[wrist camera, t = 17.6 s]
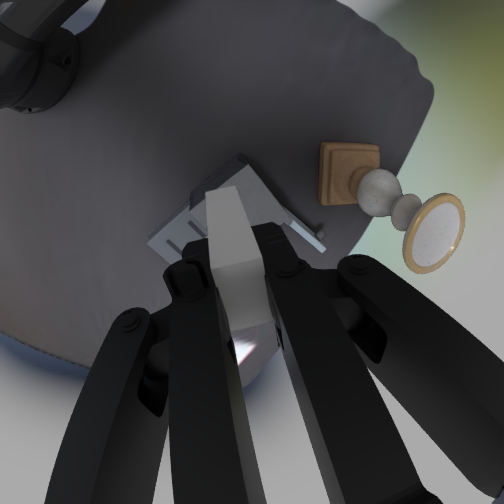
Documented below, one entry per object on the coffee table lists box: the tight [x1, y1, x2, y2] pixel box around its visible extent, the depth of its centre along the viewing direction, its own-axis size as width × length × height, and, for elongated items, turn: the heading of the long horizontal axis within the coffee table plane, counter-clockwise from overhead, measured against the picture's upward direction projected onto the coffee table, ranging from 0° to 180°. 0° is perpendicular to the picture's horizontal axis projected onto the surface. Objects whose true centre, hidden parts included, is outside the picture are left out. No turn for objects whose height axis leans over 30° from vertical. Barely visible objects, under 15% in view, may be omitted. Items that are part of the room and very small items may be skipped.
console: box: [147, 201, 208, 264], centre depth 49 cm, size 22×10×2 cm, turn 37°
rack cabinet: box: [189, 153, 290, 231], centre depth 41 cm, size 10×10×8 cm
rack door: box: [279, 202, 326, 253], centre depth 45 cm, size 3×10×7 cm, turn 48°
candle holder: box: [318, 142, 465, 274], centre depth 35 cm, size 11×11×24 cm
